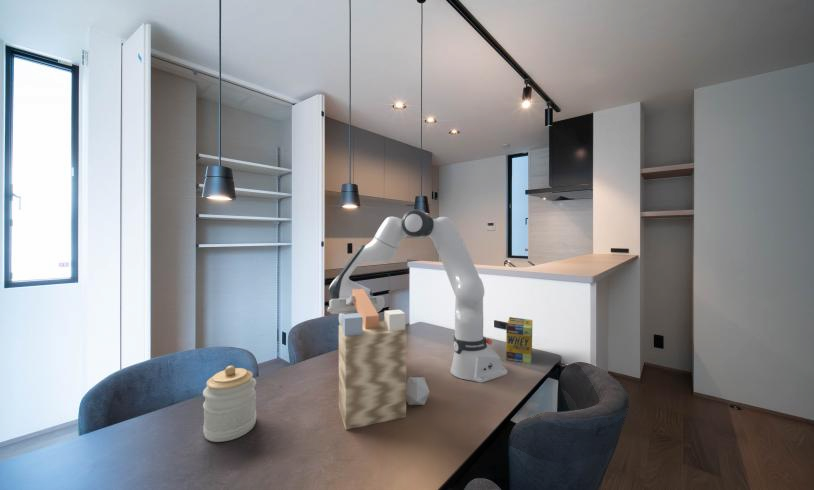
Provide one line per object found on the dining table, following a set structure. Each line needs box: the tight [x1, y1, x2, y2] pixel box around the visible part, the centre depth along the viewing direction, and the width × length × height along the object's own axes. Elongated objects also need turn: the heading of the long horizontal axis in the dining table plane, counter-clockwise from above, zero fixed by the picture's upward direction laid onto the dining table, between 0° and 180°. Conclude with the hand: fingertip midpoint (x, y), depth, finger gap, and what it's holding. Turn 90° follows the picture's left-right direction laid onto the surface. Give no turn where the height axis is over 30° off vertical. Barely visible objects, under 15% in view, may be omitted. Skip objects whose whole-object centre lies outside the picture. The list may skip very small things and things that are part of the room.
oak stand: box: [338, 320, 407, 431], centre depth 96 cm, size 18×12×26 cm
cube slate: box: [342, 313, 363, 336], centre depth 91 cm, size 5×5×5 cm
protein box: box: [505, 316, 533, 365], centre depth 142 cm, size 10×15×16 cm
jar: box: [202, 365, 257, 443], centre depth 88 cm, size 13×13×18 cm
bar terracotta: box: [352, 289, 380, 329], centre depth 105 cm, size 4×21×4 cm, turn 21°
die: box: [406, 376, 430, 406], centre depth 102 cm, size 8×9×10 cm
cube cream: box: [383, 309, 406, 332], centre depth 96 cm, size 5×5×5 cm
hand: (360, 297), depth 109 cm, fingers closed on bar terracotta, 4 cm apart
